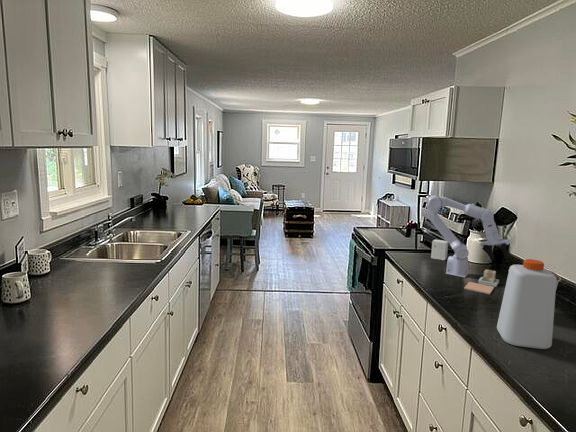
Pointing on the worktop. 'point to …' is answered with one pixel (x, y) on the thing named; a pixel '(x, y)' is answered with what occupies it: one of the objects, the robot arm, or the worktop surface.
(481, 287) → the mat
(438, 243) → the small box
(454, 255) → the robot arm
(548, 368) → the worktop surface
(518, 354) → the worktop surface
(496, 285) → the holder
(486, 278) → the birch block
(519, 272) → the plastic bottle
